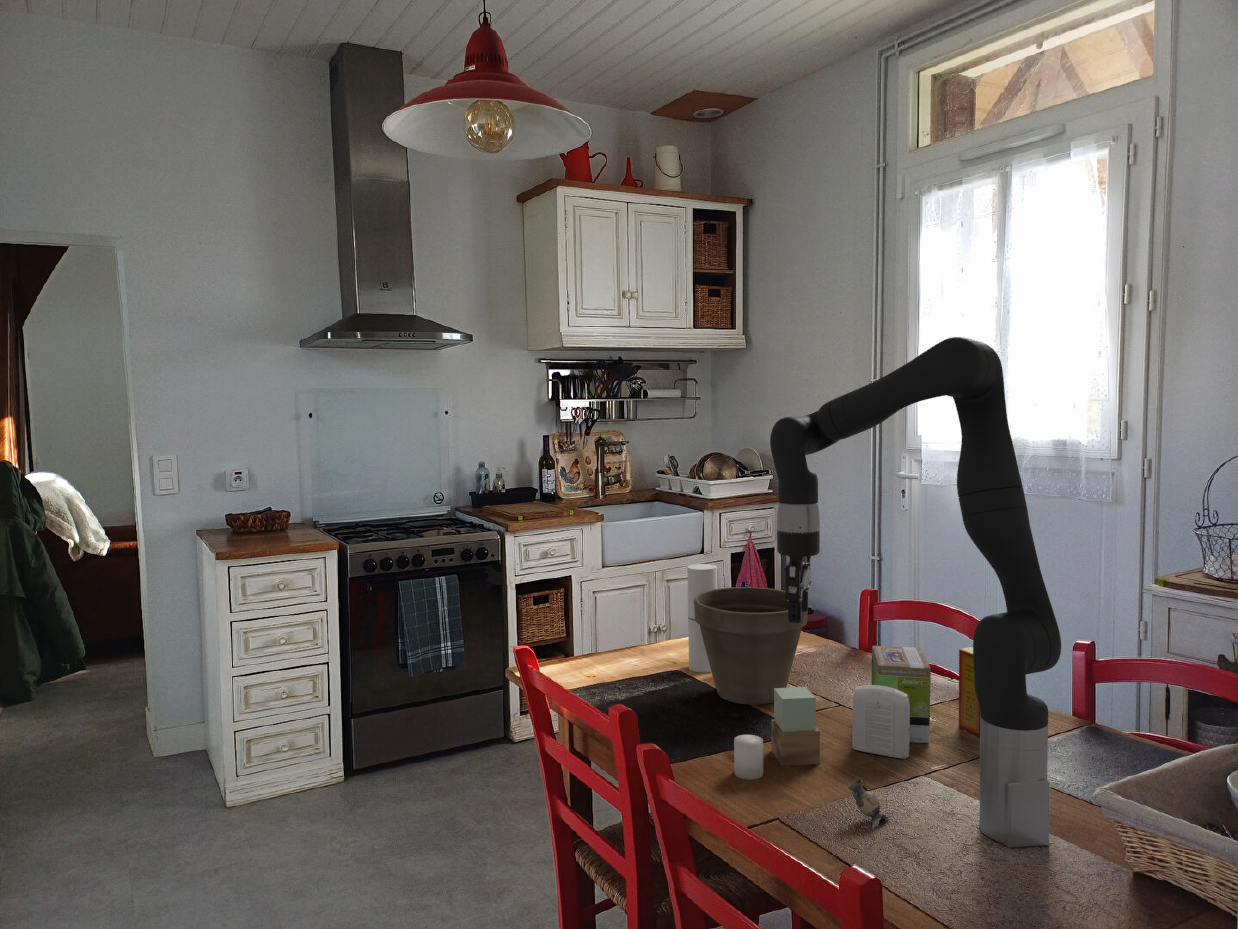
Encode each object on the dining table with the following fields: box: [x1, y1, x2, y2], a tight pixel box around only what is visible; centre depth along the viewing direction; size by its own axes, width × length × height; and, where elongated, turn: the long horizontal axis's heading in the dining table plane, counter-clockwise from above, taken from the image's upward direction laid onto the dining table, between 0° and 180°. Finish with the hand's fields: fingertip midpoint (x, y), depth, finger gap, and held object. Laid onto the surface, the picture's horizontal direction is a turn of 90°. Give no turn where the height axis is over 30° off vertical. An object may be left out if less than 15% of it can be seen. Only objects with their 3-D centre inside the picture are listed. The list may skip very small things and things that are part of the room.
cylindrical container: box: [686, 563, 718, 673], centre depth 218 cm, size 7×7×25 cm
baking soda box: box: [958, 646, 980, 739], centre depth 175 cm, size 10×6×16 cm
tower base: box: [770, 718, 821, 767], centre depth 164 cm, size 7×7×6 cm
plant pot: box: [694, 586, 809, 706], centre depth 198 cm, size 25×25×22 cm
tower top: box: [773, 686, 817, 732], centre depth 163 cm, size 6×6×6 cm
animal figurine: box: [847, 779, 890, 831], centre depth 139 cm, size 5×5×6 cm
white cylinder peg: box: [733, 734, 764, 780], centre depth 157 cm, size 5×5×6 cm
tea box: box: [870, 645, 932, 744], centre depth 176 cm, size 15×10×15 cm
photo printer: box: [851, 684, 910, 760], centre depth 165 cm, size 10×4×12 cm, turn 60°
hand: (798, 616), depth 162 cm, fingers open, 8 cm apart
